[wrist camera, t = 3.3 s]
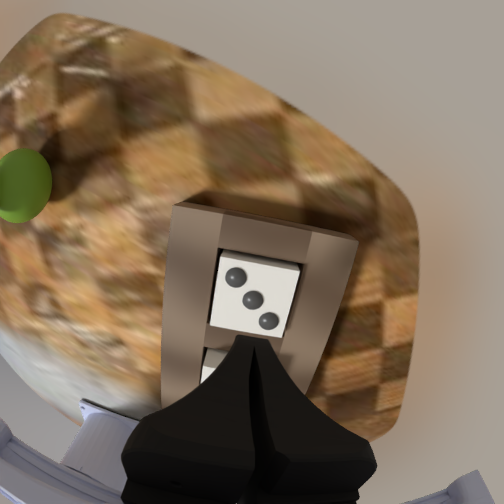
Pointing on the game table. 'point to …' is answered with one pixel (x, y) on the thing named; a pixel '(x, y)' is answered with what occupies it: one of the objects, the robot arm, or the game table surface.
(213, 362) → the tile two pips
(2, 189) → the snail figurine
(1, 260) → the game table surface
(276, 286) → the tile three pips
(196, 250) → the key board
